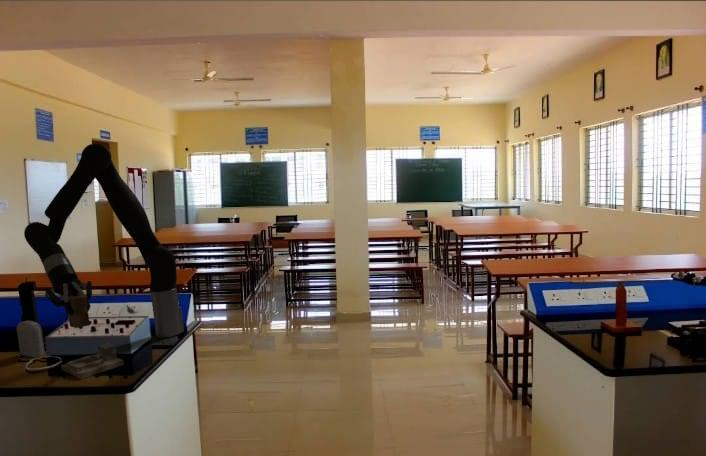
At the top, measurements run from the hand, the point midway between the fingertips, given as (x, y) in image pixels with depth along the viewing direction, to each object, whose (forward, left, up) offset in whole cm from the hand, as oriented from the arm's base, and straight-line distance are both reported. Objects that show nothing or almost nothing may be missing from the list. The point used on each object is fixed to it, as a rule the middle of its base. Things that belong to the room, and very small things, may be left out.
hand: (80, 311), depth 157 cm
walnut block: (0, -2, -5) cm, 5 cm away
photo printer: (+4, -38, -19) cm, 43 cm away
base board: (-2, -2, -19) cm, 19 cm away
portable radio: (-4, -63, -19) cm, 66 cm away
